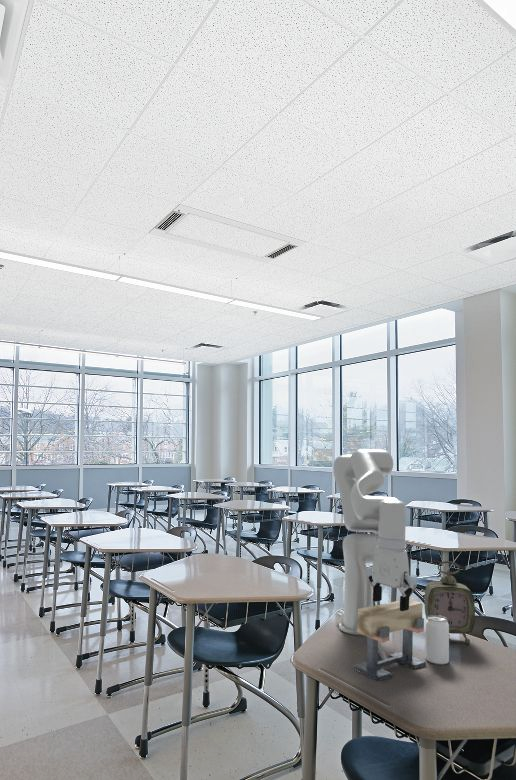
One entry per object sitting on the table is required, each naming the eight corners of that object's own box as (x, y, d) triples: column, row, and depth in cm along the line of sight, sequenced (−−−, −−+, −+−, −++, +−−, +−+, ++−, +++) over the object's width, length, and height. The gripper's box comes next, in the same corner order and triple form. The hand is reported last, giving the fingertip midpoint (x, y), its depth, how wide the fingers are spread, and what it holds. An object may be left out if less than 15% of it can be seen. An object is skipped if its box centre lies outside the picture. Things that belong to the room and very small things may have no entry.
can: (450, 666, 152) (450, 622, 153) (426, 663, 153) (426, 620, 155) (447, 658, 158) (447, 615, 160) (424, 655, 160) (424, 613, 161)
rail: (357, 631, 146) (357, 609, 147) (408, 619, 159) (408, 598, 160) (371, 637, 142) (371, 614, 143) (422, 624, 155) (422, 602, 156)
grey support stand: (353, 669, 147) (354, 619, 149) (400, 655, 159) (400, 609, 161) (378, 681, 140) (379, 629, 142) (425, 665, 152) (426, 617, 153)
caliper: (366, 641, 171) (367, 620, 172) (370, 641, 171) (370, 620, 172) (386, 666, 151) (386, 643, 151) (389, 666, 151) (390, 643, 152)
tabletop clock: (427, 642, 171) (428, 562, 174) (423, 633, 180) (423, 556, 183) (475, 646, 169) (474, 565, 172) (468, 637, 178) (467, 559, 181)
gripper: (360, 539, 158) (358, 599, 157) (408, 551, 144) (406, 616, 143) (377, 537, 163) (375, 595, 161) (425, 548, 149) (424, 612, 147)
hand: (390, 605), depth 152 cm, fingers open, 9 cm apart
